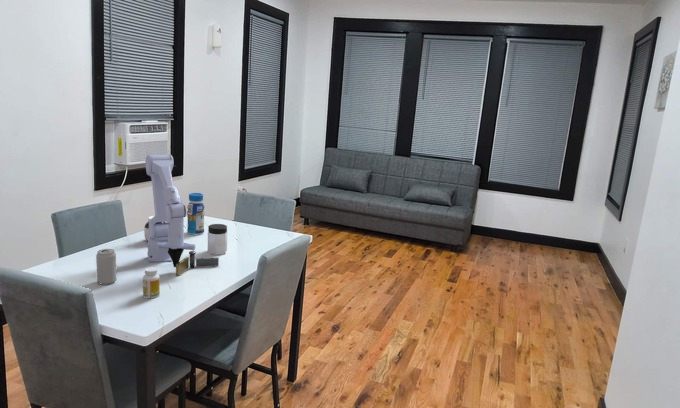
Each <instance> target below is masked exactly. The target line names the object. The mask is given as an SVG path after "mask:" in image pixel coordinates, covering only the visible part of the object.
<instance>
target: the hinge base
mask: <svg viewBox="0 0 680 408" xmlns="http://www.w3.org/2000/svg"><path fill="white" fill-rule="evenodd" d="M188 255H189V269H195V267H197V268H198V267H219V262H220V261H219V257H204V258H203V257H201V258H198V257H197V258H196V251H195V250H194V251H193V250H189V251H188Z"/></svg>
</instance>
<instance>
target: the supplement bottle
mask: <svg viewBox="0 0 680 408" xmlns="http://www.w3.org/2000/svg"><path fill="white" fill-rule="evenodd" d="M160 284H161V283H160V275H159V273H158V268H156V267H152V266H151V267H146V268H145V269H144V274H143V276H142V294H143V295H142V296H143V297H144V298H146V299H154V298H157V297H159V296H160V295H161V294H160V293H161V292H160V291H161V290H160V289H161V288H160V286H161V285H160Z"/></svg>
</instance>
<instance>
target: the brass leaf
mask: <svg viewBox="0 0 680 408" xmlns="http://www.w3.org/2000/svg"><path fill="white" fill-rule="evenodd" d="M188 269H190V256H189V257H188V256H186V257H184V258H183V259H180V260H179V263H177V264H176V267H175V276H180V275H181V274H182V273H184V272H185V271H186V270H188Z"/></svg>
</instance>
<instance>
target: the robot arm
mask: <svg viewBox="0 0 680 408" xmlns="http://www.w3.org/2000/svg"><path fill="white" fill-rule="evenodd" d="M174 164H175V162H174V157H173V156H172V154H171V153H169V154H147V155H146V157H145V171H146V175H147V176H149V177H150V180H151V185H152V186H151V187H152V197H153V205H154V215H153V216H154V217H153V218H152V219H151V220H150V221H149V229H148V230H149V236H150V237H151V239H148V241H147V252H146V253H147V254H146V255H147V262H149V263H150V262H172V265H173V268H176V264H177V263H179V262H180V261H181V257H182V255H183V253H184V250H189V251H195V250H196V244H194V243H188V242H184V241H185V239H184V237H185V236H184V235H185V234H184V231H185V229H184V226H185V225H184V221H185V220H184V219H185V218H186V215H187V207H186V204H185V203H184V202H183V200H182V199H181V197H180V193H179V190H178V188H177V187H176V186H174V181H173V176H172V171H173V168H174V166H175V165H174ZM157 222H165V223H158V224H155V223H157Z"/></svg>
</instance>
